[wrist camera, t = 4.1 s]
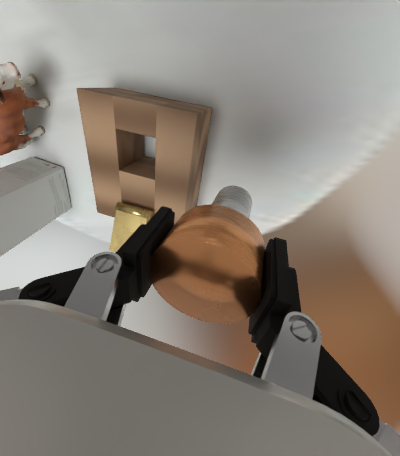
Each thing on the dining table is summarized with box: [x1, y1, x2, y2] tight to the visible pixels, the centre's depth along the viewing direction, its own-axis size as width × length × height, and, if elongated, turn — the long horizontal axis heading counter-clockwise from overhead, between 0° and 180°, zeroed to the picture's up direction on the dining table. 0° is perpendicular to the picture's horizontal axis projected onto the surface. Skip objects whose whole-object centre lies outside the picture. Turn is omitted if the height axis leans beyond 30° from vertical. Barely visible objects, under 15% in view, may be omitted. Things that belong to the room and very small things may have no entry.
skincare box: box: [0, 157, 71, 256], centre depth 30 cm, size 8×6×15 cm
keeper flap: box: [110, 202, 154, 252], centre depth 26 cm, size 6×4×1 cm
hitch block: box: [77, 88, 212, 225], centre depth 25 cm, size 14×12×6 cm
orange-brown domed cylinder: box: [150, 186, 265, 323], centre depth 13 cm, size 5×5×8 cm
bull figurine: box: [0, 62, 50, 155], centre depth 25 cm, size 4×13×8 cm, turn 136°
